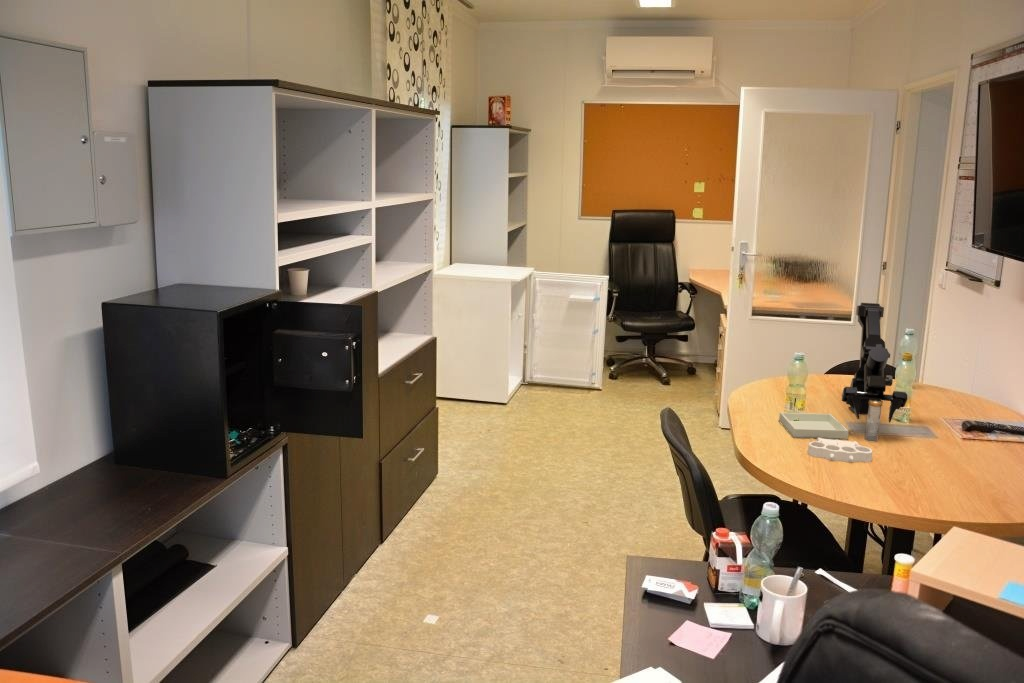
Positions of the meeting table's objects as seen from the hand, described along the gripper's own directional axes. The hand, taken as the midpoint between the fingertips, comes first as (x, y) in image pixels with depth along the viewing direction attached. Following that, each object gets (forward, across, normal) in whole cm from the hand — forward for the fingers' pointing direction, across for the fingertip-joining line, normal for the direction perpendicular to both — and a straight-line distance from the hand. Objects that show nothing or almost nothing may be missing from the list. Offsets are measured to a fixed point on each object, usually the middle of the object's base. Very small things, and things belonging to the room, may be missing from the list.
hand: (874, 420), depth 256 cm
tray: (+2, -18, +8) cm, 19 cm away
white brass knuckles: (+17, -11, -6) cm, 21 cm away
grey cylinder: (+4, 0, +6) cm, 7 cm away
